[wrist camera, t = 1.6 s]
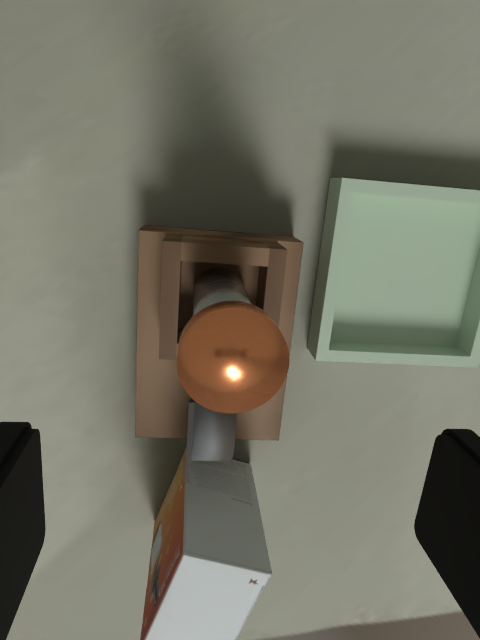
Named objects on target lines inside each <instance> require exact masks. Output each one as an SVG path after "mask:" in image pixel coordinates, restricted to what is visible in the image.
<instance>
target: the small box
mask: <svg viewBox="0 0 480 640" xmlns="http://www.w3.org/2000/svg"><path fill="white" fill-rule="evenodd" d="M185 464H186V448H185V451H184V453H183V456H182V459H181V461H180V464H179V466H178V469H177V471H176V474H175V476H174V478H173V481H172V483H171V485H170V487H169V490H168V492H167V494H166V497H165V499H164V501H163V504H162V506H161V508H160V511H159V513H158V515H157V518H156V520H155V523H154V532H153V541H152V549H151V556H150V565H149V574H148V583H147V590H146V598H145V606H144V614H143V623H142V631H141V639H140V640H236V638H237V636H238V634H239V632H240V630H241V629H242V627H243V625H244V623H245V621H246V619H247V617H248V615H249V613H250V612H251V610H252V608H253V606H254V604H255V602H256V600H257V599H258V597H259V595H260V593H261V592H262V590H263V588H264V587H265V585H266V584H267V582H268V580H269V579H270V577H271V575H272V571H271V567H270V561H269V556H268V551H267V546H266V541H265V535H264V530H263V525H262V520H261V514H260V509H259V504H258V499H257V494H256V489H255V483H254V479H253V473H252V468H251V465H250V464H248V463H244V462H241V461H237V460H234V459H232V461H191V471H190V483H185Z"/></svg>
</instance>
